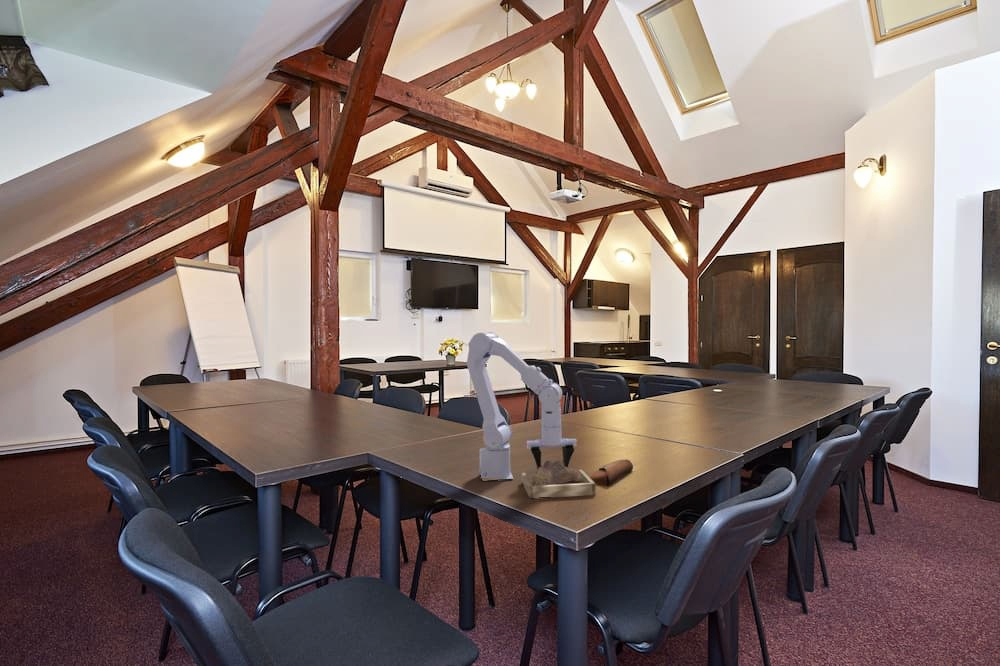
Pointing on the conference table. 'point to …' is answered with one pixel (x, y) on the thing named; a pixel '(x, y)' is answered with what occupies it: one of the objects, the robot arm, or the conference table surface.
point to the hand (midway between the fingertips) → (552, 471)
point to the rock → (553, 474)
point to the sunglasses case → (611, 472)
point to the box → (561, 488)
